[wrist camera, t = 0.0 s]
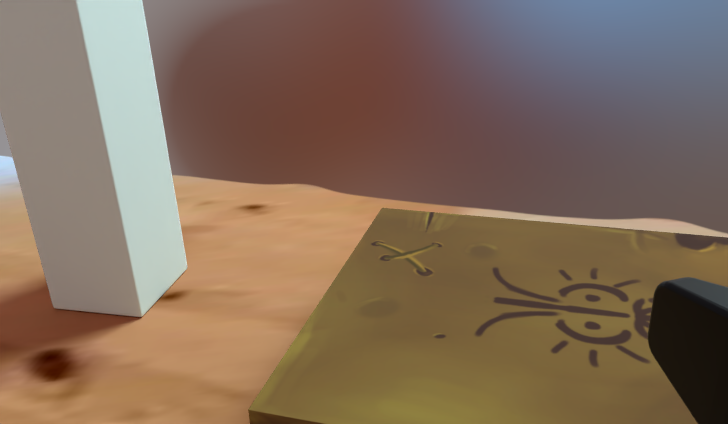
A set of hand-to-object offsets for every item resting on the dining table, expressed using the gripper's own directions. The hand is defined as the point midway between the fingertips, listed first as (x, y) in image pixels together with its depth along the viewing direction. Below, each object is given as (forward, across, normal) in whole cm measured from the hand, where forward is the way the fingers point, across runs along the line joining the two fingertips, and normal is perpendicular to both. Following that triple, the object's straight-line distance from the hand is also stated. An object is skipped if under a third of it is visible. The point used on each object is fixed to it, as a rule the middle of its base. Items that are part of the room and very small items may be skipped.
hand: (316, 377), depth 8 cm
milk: (+34, +7, +17) cm, 38 cm away
